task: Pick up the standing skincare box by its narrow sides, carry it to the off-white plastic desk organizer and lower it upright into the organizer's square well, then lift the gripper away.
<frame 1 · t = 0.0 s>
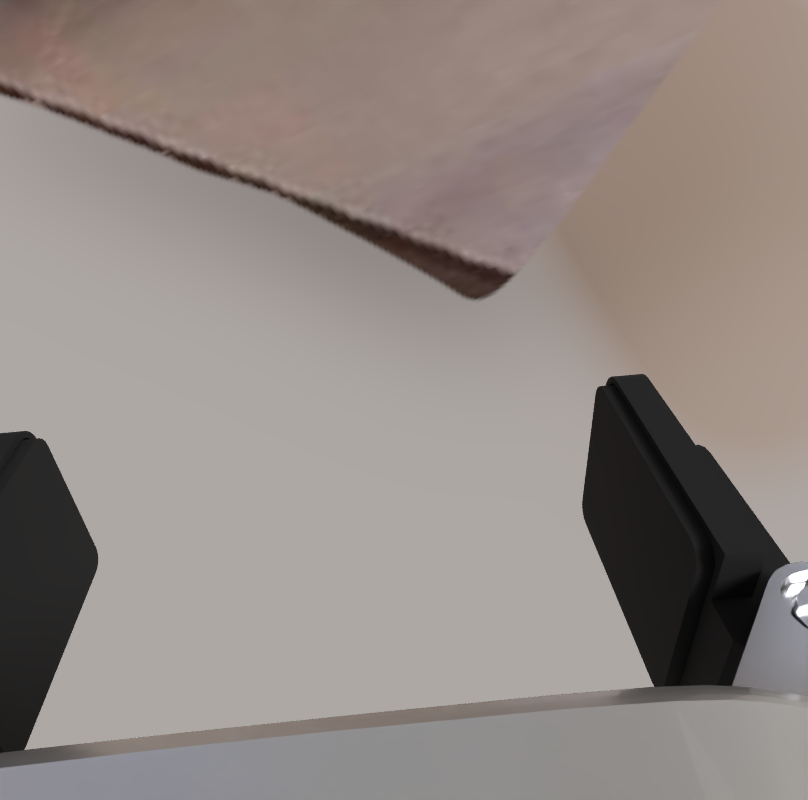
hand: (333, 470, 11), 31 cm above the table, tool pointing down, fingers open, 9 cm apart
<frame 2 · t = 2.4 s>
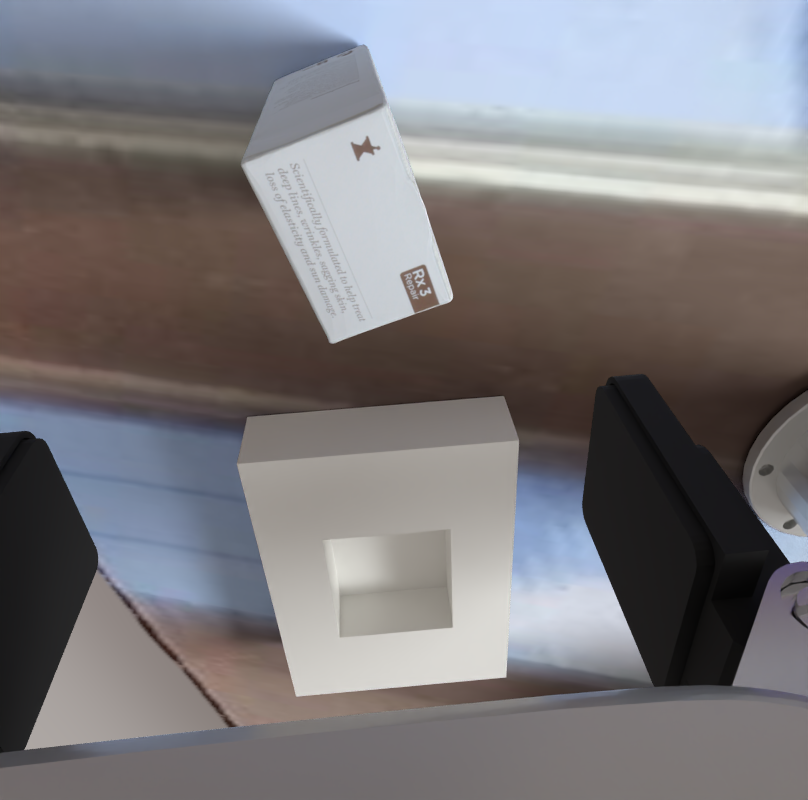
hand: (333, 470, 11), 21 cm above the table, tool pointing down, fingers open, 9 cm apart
skincare box: (350, 135, 28), on the table
organizer: (388, 536, 42), on the table
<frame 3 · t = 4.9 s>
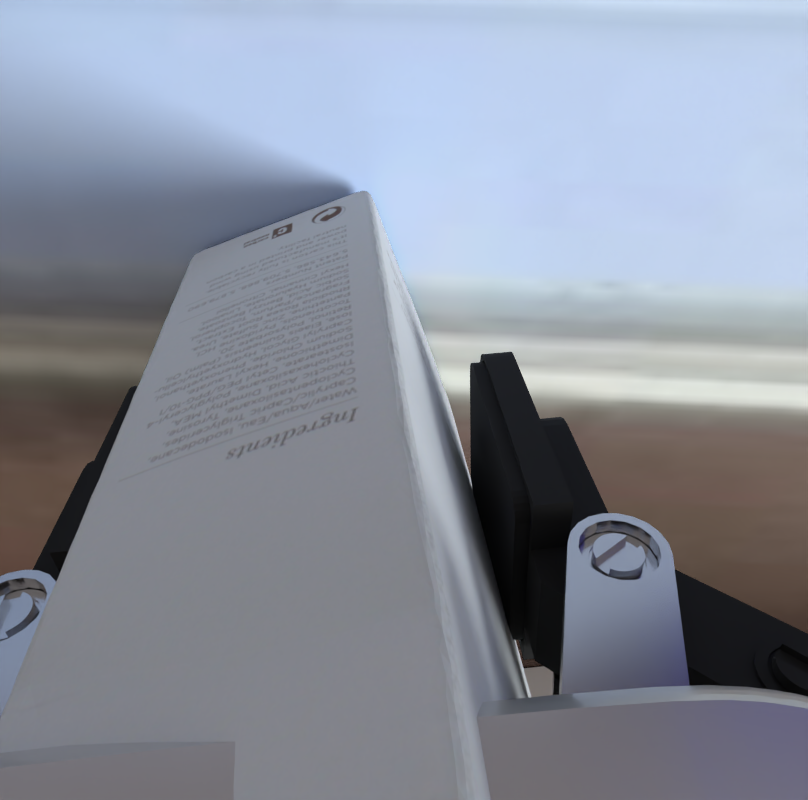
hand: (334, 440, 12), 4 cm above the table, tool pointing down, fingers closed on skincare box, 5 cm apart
skincare box: (339, 332, 16), on the table, touching gripper
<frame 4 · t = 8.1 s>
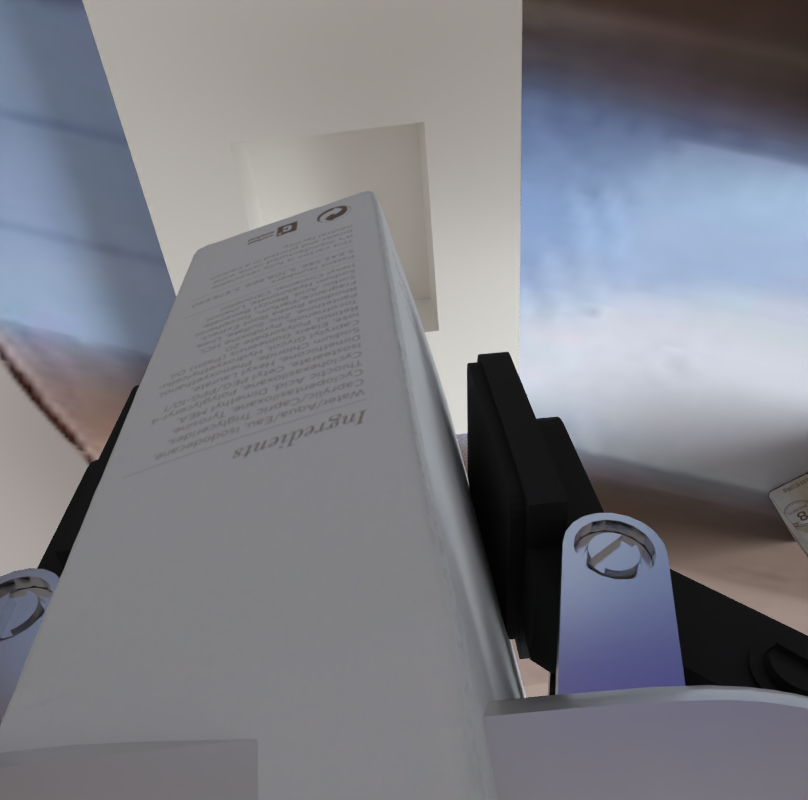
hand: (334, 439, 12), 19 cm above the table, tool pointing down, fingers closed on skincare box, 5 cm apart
skincare box: (340, 331, 16), point 15 cm above the table, touching gripper
organizer: (343, 212, 29), on the table
when the fingers open (6 cm above the table, at t = 11.3 s): skincare box stays where it is, resting on organizer.
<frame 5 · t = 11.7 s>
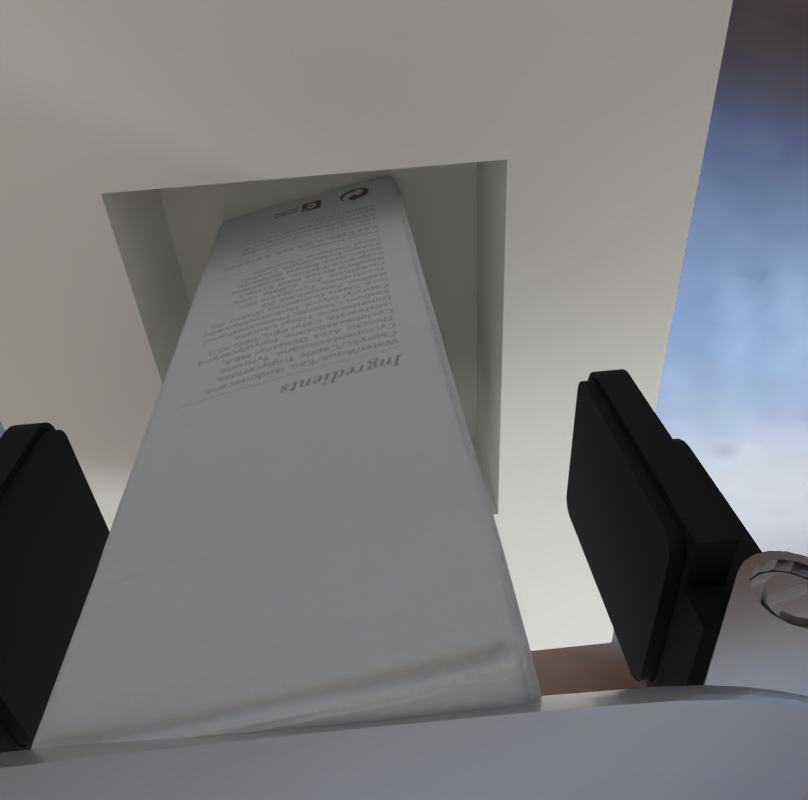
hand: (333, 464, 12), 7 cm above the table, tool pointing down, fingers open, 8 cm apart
skincare box: (350, 308, 17), point 1 cm above the table, touching organizer
organizer: (337, 299, 17), on the table
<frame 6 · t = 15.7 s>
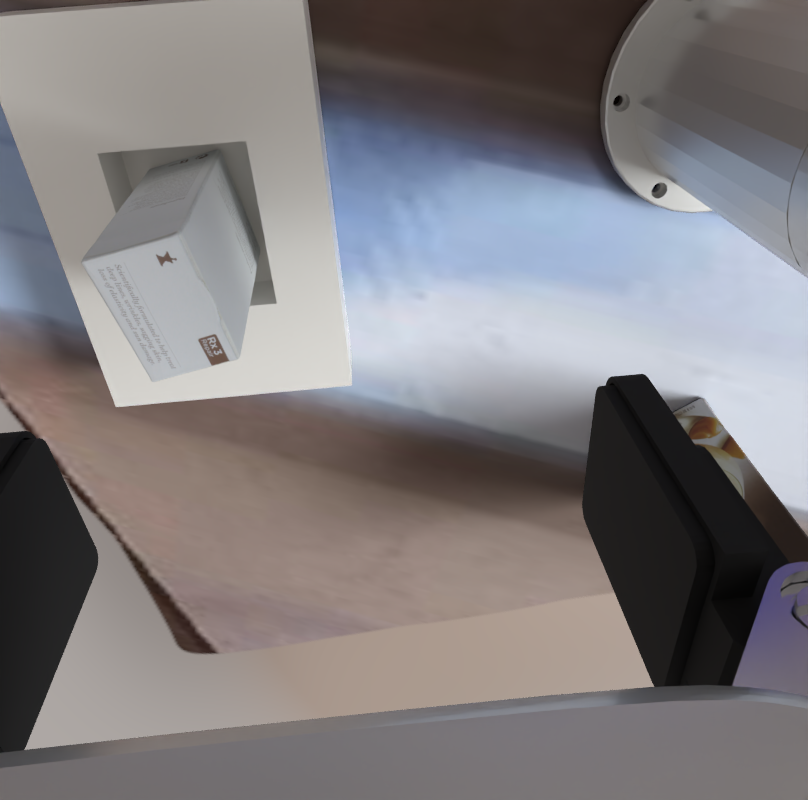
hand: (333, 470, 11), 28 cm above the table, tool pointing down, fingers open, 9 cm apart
skincare box: (211, 211, 36), point 1 cm above the table, touching organizer
coffee box: (658, 449, 50), on the table
organizer: (207, 208, 37), on the table
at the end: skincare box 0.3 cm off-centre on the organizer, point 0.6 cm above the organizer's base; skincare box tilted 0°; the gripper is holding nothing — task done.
